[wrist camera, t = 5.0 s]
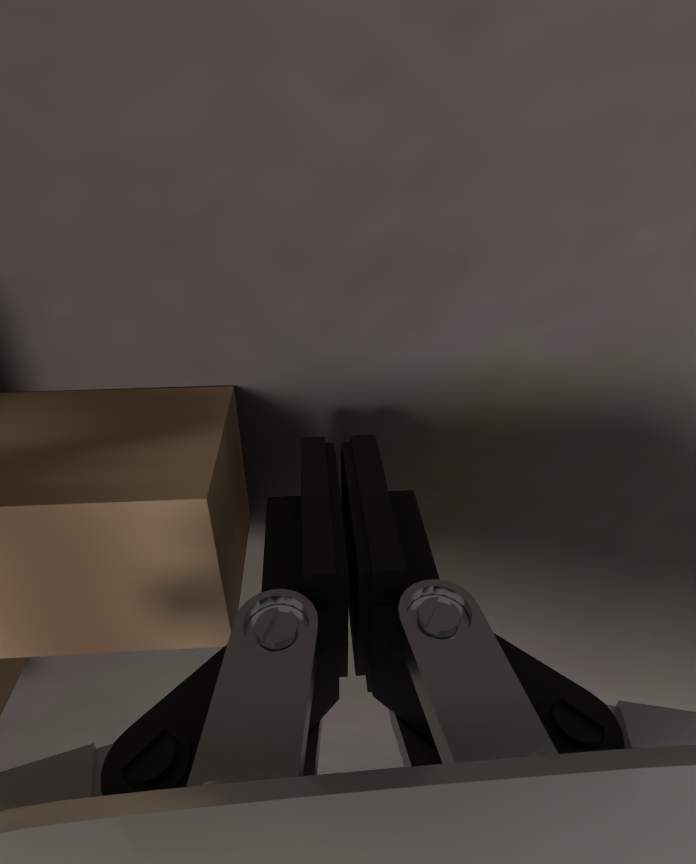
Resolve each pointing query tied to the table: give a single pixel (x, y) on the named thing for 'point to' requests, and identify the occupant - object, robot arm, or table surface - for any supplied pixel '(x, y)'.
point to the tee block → (118, 522)
